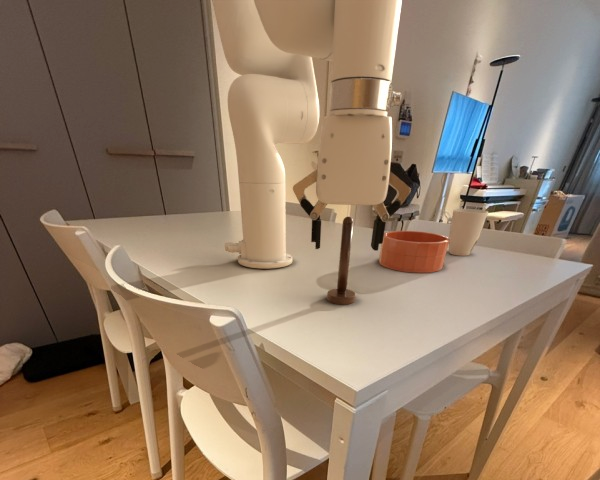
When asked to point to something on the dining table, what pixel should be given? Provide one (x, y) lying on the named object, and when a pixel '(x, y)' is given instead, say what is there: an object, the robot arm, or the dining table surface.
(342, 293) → the brown peg stand
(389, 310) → the dining table surface
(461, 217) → the cup
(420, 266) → the bowl
